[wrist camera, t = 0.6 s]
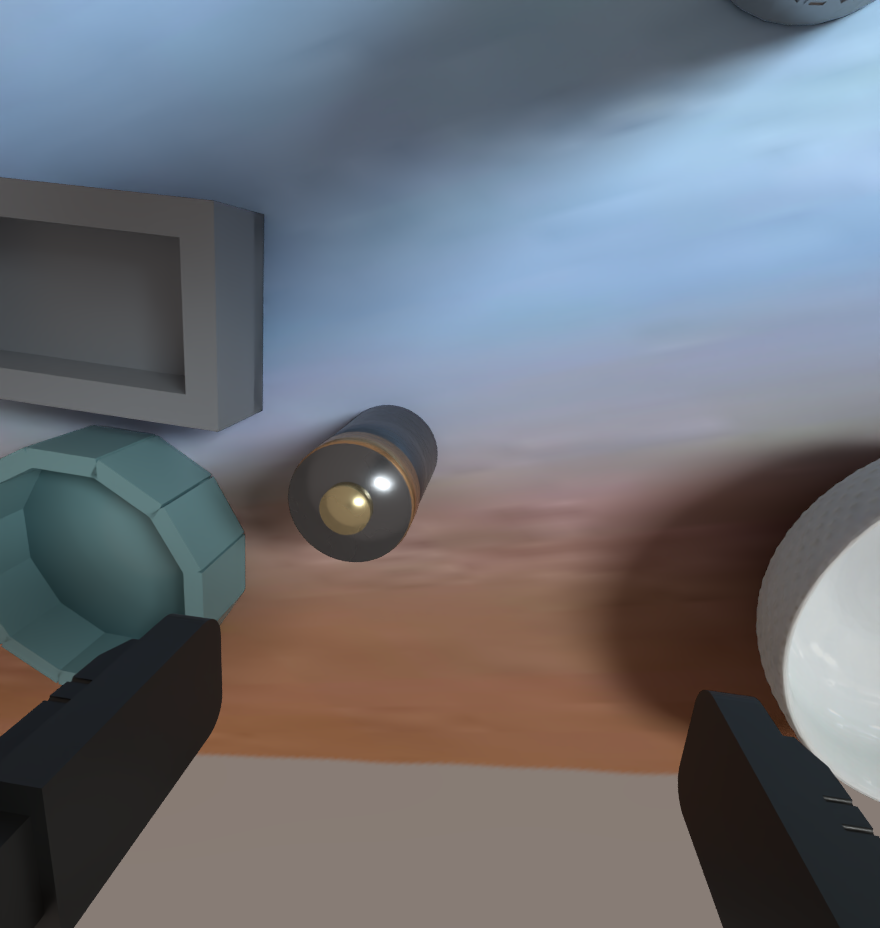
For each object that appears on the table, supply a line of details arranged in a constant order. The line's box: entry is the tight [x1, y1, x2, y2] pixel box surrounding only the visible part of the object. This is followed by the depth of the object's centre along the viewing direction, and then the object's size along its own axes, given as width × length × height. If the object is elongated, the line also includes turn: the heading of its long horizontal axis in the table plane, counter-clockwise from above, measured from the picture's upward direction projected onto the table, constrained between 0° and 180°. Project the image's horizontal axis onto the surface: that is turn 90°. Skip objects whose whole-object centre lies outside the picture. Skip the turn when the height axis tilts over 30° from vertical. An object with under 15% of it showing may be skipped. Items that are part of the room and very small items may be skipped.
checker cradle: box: [0, 177, 264, 432], centre depth 26 cm, size 10×16×4 cm, turn 83°
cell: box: [288, 405, 437, 562], centre depth 25 cm, size 5×5×8 cm
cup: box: [0, 425, 245, 685], centre depth 31 cm, size 14×14×4 cm
